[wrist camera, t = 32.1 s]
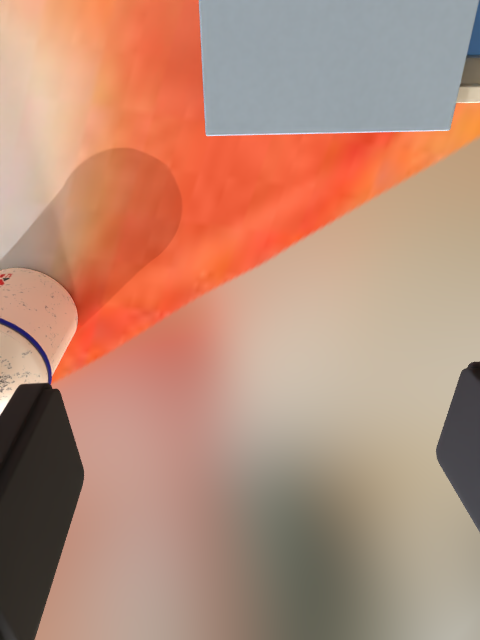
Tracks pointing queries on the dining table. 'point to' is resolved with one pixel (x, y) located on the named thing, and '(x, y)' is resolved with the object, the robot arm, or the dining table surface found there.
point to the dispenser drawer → (470, 82)
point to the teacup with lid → (32, 328)
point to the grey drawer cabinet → (332, 65)
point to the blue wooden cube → (475, 37)
